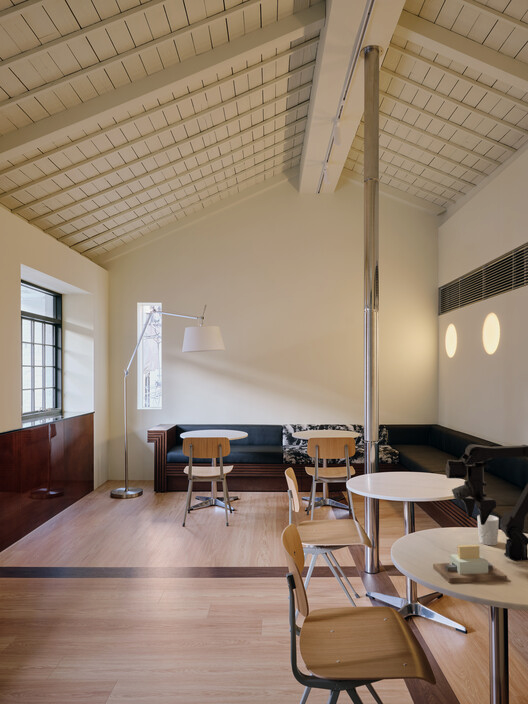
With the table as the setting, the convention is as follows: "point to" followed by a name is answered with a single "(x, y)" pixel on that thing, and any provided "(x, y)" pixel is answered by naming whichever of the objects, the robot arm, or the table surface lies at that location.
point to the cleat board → (453, 576)
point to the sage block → (469, 560)
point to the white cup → (488, 530)
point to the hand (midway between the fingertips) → (476, 520)
